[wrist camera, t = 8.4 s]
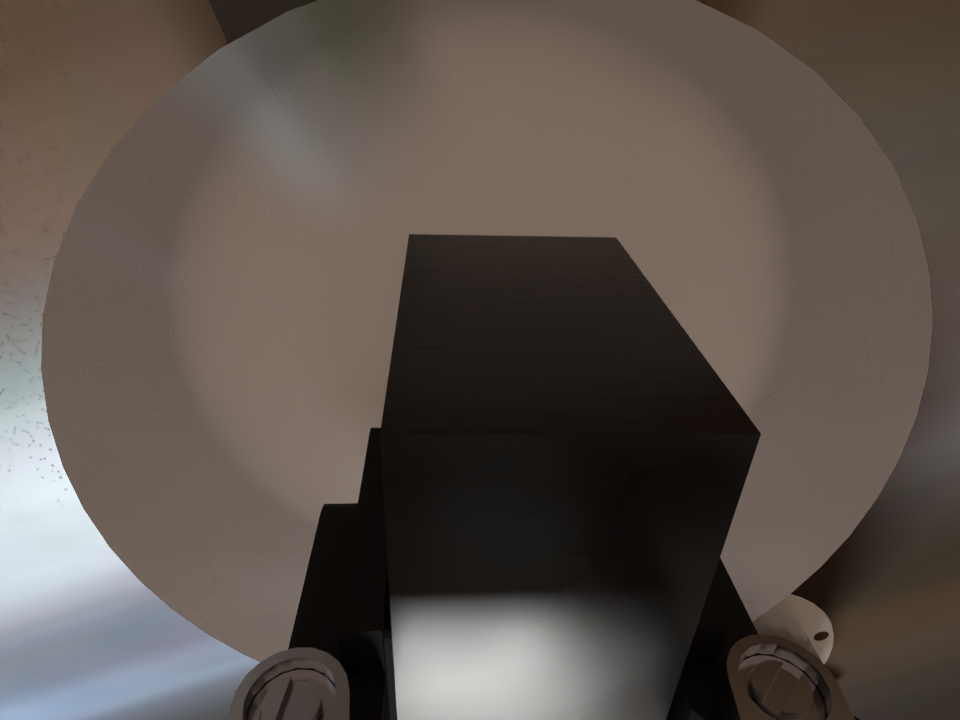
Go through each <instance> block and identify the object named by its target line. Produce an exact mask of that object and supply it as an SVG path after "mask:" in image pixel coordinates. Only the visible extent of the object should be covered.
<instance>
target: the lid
mask: <svg viewBox="0 0 960 720" xmlns="http://www.w3.org/2000/svg"><path fill="white" fill-rule="evenodd" d="M932 328H933V315H932V300H931V285H930V271H929V267H928V263H927V259H926V255H925V251H924V246H923V242H922V238H921V234H920V230H919V226H918V222H917V218H916V216H915V214H914V212H913V209H912V207H911V205H910V202H909V200H908V198H907V196H906V193H905V191H904V189H903V187H902V184H901V182H900V180H899V178H898V175H897V173H896V171H895V169H894V167H893V165H892V164H891V162H890V161H889V159H888V158H887V156H886V155H885V153H884V152H883V150H882V149H881V147H880V146H879V144H878V143H877V142H876V140H875V139H874V137H873V136H872V134H871V133H870V131H869V130H868V128H867V127H866V125H865V124H864V122H863V121H862V119H861V118H860V117H859V116H858V115H857V114H856V112H855V111H854V110H853V109H852V108H851V107H850V106H849V105H848V104H847V103H846V102H845V101H844V100H843V99H842V98H841V97H840V96H839V95H838V94H837V93H836V92H835V91H834V90H833V89H832V88H831V87H830V86H829V85H828V84H827V83H826V82H825V81H824V80H823V79H822V78H821V77H820V76H819V75H818V74H817V73H816V72H815V71H814V70H813V69H812V68H810V67H809V66H807V65H806V64H805V63H803V62H802V61H800V60H799V59H798V58H796V57H795V56H793V55H792V54H791V53H789V52H788V51H786V50H785V49H784V48H782V47H781V46H779V45H778V44H777V43H775V42H774V41H772V40H771V39H769V38H768V37H767V36H765V35H764V34H762V33H761V32H760V31H758V30H757V29H755V28H753V27H751V26H749V25H747V24H745V23H742V22H740V21H738V20H736V19H734V18H732V17H730V16H728V15H726V14H724V13H722V12H720V11H717V10H715V9H713V8H711V7H709V6H707V5H705V4H703V3H701V2H699V1H697V0H318V1H315V2H312V3H309V4H307V5H304V6H301V7H298V8H295V9H293V10H290V11H287V12H285V13H284V14H282V15H280V16H278V17H276V18H275V19H273V20H271V21H269V22H267V23H266V24H264V25H262V26H260V27H258V28H256V29H255V30H253V31H251V32H249V33H247V34H246V35H244V36H242V37H240V38H238V39H237V40H235V41H233V42H231V43H229V44H228V45H226V46H224V47H222V48H220V49H219V50H217V51H216V52H215V53H213V54H212V55H211V56H210V57H208V58H207V59H206V60H204V61H203V62H202V63H201V64H199V65H198V66H197V67H196V68H194V69H193V70H192V71H191V72H189V73H188V74H187V75H186V76H184V77H183V78H182V79H180V80H179V81H178V82H177V83H175V84H174V85H173V86H172V87H170V88H169V89H168V90H167V91H165V92H164V93H163V94H161V95H160V96H159V97H158V98H157V99H156V100H155V101H154V103H153V104H152V105H151V106H150V107H149V108H148V109H147V110H146V111H145V113H144V114H143V115H142V116H141V117H140V118H139V119H138V120H137V121H136V123H135V124H134V125H133V126H132V127H131V128H130V129H129V130H128V131H127V133H126V134H125V135H124V136H123V137H122V138H121V139H120V140H119V141H118V143H117V144H116V145H115V146H114V147H113V148H112V149H111V151H110V153H109V154H108V156H107V157H106V159H105V161H104V162H103V164H102V165H101V167H100V169H99V170H98V172H97V173H96V175H95V177H94V178H93V180H92V181H91V183H90V185H89V186H88V188H87V189H86V191H85V193H84V194H83V196H82V197H81V199H80V200H79V202H78V204H77V206H76V208H75V211H74V213H73V216H72V218H71V221H70V223H69V226H68V228H67V231H66V233H65V236H64V238H63V241H62V243H61V246H60V248H59V251H58V253H57V256H56V258H55V261H54V265H53V270H52V275H51V280H50V284H49V289H48V294H47V299H46V304H45V308H44V313H43V328H42V364H41V371H42V378H43V385H44V392H45V399H46V406H47V413H48V420H49V423H50V427H51V430H52V433H53V436H54V439H55V443H56V446H57V449H58V452H59V455H60V458H61V462H62V465H63V468H64V470H65V472H66V474H67V476H68V478H69V480H70V482H71V484H72V486H73V488H74V490H75V492H76V494H77V496H78V498H79V500H80V502H81V504H82V506H83V508H84V510H85V511H86V513H87V514H88V516H89V517H90V519H91V520H92V522H93V523H94V525H95V526H96V528H97V529H98V531H99V532H100V533H101V535H102V536H103V538H104V539H105V541H106V542H107V544H108V545H109V547H110V548H111V549H112V550H113V551H114V552H115V553H116V555H117V556H118V557H119V558H120V559H121V560H122V561H123V562H124V564H125V565H126V566H127V567H128V568H129V569H130V570H131V571H132V573H133V574H134V575H135V576H136V577H137V578H138V579H139V580H140V581H141V582H142V583H143V584H144V585H145V586H146V587H148V588H149V589H150V590H151V591H152V592H153V593H154V594H156V595H157V596H158V597H159V598H160V599H161V600H162V601H163V602H165V603H166V604H167V605H168V606H169V607H170V608H171V609H173V610H174V611H175V612H177V613H178V614H180V615H181V616H183V617H184V618H185V619H187V620H188V621H190V622H191V623H193V624H194V625H195V626H197V627H198V628H200V629H201V630H202V631H204V632H205V633H207V634H208V635H210V636H212V637H214V638H216V639H217V640H219V641H221V642H223V643H224V644H226V645H228V646H230V647H232V648H233V649H235V650H237V651H239V652H240V653H242V654H244V655H246V656H248V657H251V658H253V659H255V660H258V661H260V662H261V661H263V660H265V659H267V658H269V657H270V656H272V655H274V654H276V653H278V652H281V651H285V650H288V648H289V643H290V639H291V635H292V631H293V626H294V622H295V618H296V614H297V610H298V605H299V601H300V597H301V593H302V588H303V584H304V580H305V576H306V572H307V567H308V563H309V559H310V555H311V551H312V546H313V542H314V538H315V534H316V529H317V525H318V521H319V517H320V513H321V510H322V507H323V505H324V504H344V503H358V499H359V493H360V487H361V481H362V475H363V469H364V463H365V457H366V451H367V445H368V439H369V433H370V429H371V428H381V430H380V449H381V465H382V481H383V497H384V514H385V530H386V546H387V562H388V578H389V595H390V611H391V627H392V643H393V659H394V676H395V692H396V708H397V720H666V718H667V715H668V712H669V709H670V706H671V703H672V700H673V697H674V694H675V691H676V688H677V685H678V682H679V679H680V676H681V673H682V670H683V667H684V664H685V661H686V658H687V655H688V652H689V649H690V646H691V643H692V640H693V637H694V634H695V631H696V628H697V625H698V622H699V619H700V616H701V613H702V610H703V607H704V604H705V601H706V598H707V595H708V592H709V589H710V586H711V583H712V580H713V577H714V574H715V571H716V568H717V565H718V562H719V559H720V558H721V560H722V562H723V564H724V566H725V568H726V570H727V572H728V574H729V576H730V578H731V580H732V582H733V584H734V586H735V588H736V590H737V592H738V594H739V596H740V598H741V600H742V602H743V604H744V606H745V608H746V610H747V612H748V614H749V616H750V618H751V620H752V621H754V620H756V619H757V618H758V617H760V616H761V615H762V614H764V613H765V612H767V611H768V610H769V609H771V608H772V607H773V606H775V605H776V604H778V603H779V602H780V601H782V600H783V599H784V598H786V597H787V596H789V595H790V594H791V593H792V592H793V591H794V590H795V589H797V588H798V587H799V586H800V585H801V584H802V583H803V582H804V581H806V580H807V579H808V578H809V577H810V576H811V575H812V574H813V573H815V572H816V571H817V570H818V569H819V568H820V567H821V566H822V565H823V564H824V563H825V562H826V561H827V560H828V559H829V558H830V557H831V555H832V554H833V553H834V552H835V551H836V550H837V549H838V548H839V547H840V546H841V545H842V544H843V542H844V541H845V540H846V539H847V538H848V537H849V536H850V535H851V534H852V532H853V531H854V529H855V528H856V527H857V525H858V524H859V523H860V521H861V520H862V519H863V517H864V516H865V515H866V513H867V512H868V511H869V509H870V508H871V506H872V505H873V504H874V502H875V501H876V500H877V498H878V496H879V495H880V493H881V491H882V489H883V488H884V486H885V484H886V482H887V480H888V479H889V477H890V475H891V473H892V472H893V470H894V468H895V466H896V465H897V463H898V461H899V459H900V457H901V454H902V452H903V449H904V447H905V445H906V442H907V440H908V437H909V435H910V432H911V430H912V427H913V425H914V423H915V420H916V418H917V414H918V410H919V406H920V402H921V398H922V394H923V390H924V386H925V382H926V378H927V374H928V369H929V359H930V348H931V338H932Z"/></svg>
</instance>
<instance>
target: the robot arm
mask: <svg viewBox="0 0 960 720" xmlns="http://www.w3.org/2000/svg"><path fill="white" fill-rule="evenodd" d="M380 430H381V428H371V429H370V433H369V439H368V445H367V451H366V457H365V463H364V469H363V475H362V481H361V487H360V493H359V499H358V503H344V504H324V505H323V507H322V510H321V513H320V517H319V521H318V525H317V529H316V534H315V538H314V542H313V546H312V551H311V555H310V559H309V563H308V567H307V572H306V576H305V580H304V584H303V588H302V593H301V597H300V601H299V605H298V610H297V614H296V618H295V622H294V626H293V631H292V635H291V639H290V643H289V648H288V650H285V651H281V652H278V653H276V654H274V655H272V656H270V657H269V658H267V659H265V660H263V661H261V662H260V663H259V664H258V665H257V666H256V667H255V668H254V669H253V670H251V671H250V672H249V673H248V674H247V675H246V677H245V678H244V680H243V681H242V683H241V684H240V686H239V687H238V688H237V690H236V692H235V695H234V698H233V701H232V704H231V707H230V711H229V716H228V720H397V708H396V692H395V676H394V659H393V643H392V627H391V611H390V595H389V578H388V562H387V546H386V530H385V514H384V497H383V481H382V465H381V449H380ZM823 631H825V632H828V636H827V637H826V638H824V639H822V640H815V639H814V635H816V634H817V633H819V632H823ZM833 641H834V632H833V627H832V623H831V622H830V620H829V618H828V617H827V615H826V614H825V612H824V611H822V610H821V609H820V608H819V607H818V606H816V605H815V604H814V603H812V602H810V601H808V600H806V599H804V598H802V597H799V596H795V595H792V594H790V595H789V596H787V597H786V598H784V599H783V600H782V601H780V602H779V603H778V604H776V605H775V606H773V607H772V608H771V609H769V610H768V611H767V612H765V613H764V614H762V615H761V616H760V617H758V618H757V619H756V620H754V621H752V620H751V618H750V616H749V614H748V612H747V610H746V608H745V606H744V604H743V602H742V600H741V598H740V596H739V594H738V592H737V590H736V588H735V586H734V584H733V582H732V580H731V578H730V576H729V574H728V572H727V570H726V568H725V566H724V564H723V562H722V560H721V558H720V559H719V562H718V565H717V568H716V571H715V574H714V577H713V580H712V583H711V586H710V589H709V592H708V595H707V598H706V601H705V604H704V607H703V610H702V613H701V616H700V619H699V622H698V625H697V628H696V631H695V634H694V637H693V640H692V643H691V646H690V649H689V652H688V655H687V658H686V661H685V664H684V667H683V670H682V673H681V676H680V679H679V682H678V685H677V688H676V691H675V694H674V697H673V700H672V703H671V706H670V709H669V712H668V715H667V718H666V720H859V719H858V718H856V717H855V716H853V714H852V712H851V709H850V707H849V705H848V703H847V701H846V699H845V696H844V694H843V692H842V690H841V688H840V686H839V684H838V683H837V681H836V679H835V678H834V676H833V675H832V673H831V671H830V670H829V669H828V668H827V667H826V666H825V665H824V664H825V663H826V661H827V660H828V657H829V655H830V652H831V650H832V648H833Z"/></svg>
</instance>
